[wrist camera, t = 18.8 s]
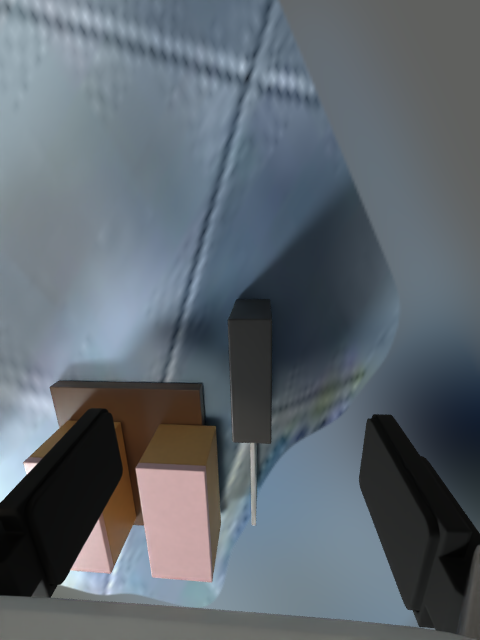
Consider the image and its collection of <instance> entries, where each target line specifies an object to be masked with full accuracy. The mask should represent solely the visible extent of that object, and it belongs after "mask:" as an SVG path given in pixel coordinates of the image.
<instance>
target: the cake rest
mask: <svg viewBox="0 0 480 640" xmlns="http://www.w3.org/2000/svg"><path fill="white" fill-rule="evenodd" d="M76 422H77V421H67V422H66V423H65V424H63V425H62V426H61V427H60V428H59V429H58V430H57V431H56V432H55V433H54V434H53V435H52V436H51V437H50V438H49V439H48V440H46V441H45V442H44V443H43V444H42V445H41V446H40V447H39V448H38V449H37V450H36V451H35V452H34V453H33V454H32V455H31V456H30V457H29V458H27V459H26V460H25V461H24V462H23V464H24V467H25V470H26V474H28V473H29V472H30V471H31V470H32V469H33V468H34V467H35V466H36V464H37V463H38V462H39V461H40V460H41V459H42V458H43V457H44V456H45V455H46V454H47V453H48V452H49V451H50V450H51V449H52V447H53V446H54V445H55V444H56V443H57V442H58V441H59V440H60V439H61V438H62V437H63V436H64V435H65V434H66V433H67V431H68V430H69V429H70V428H71V427H72V426H73V425H74V424H75V423H76ZM114 426H115V431H116V436H117V441H118V446H119V451H120V456H121V461H122V466H123V474H122V477H121V480H120V481H119V483H118V485H117V487H116V489H115V490H114V492H113V494H112V496H111V498H110V499H109V501H108V503H107V505H106V507H105V508H104V510H103V512H102V514H101V516H100V518H99V519H98V521H97V523H96V525H95V527H94V528H93V530H92V532H91V534H90V536H89V537H88V539H87V541H86V543H85V545H84V546H83V548H82V550H81V552H80V554H79V555H78V557H77V559H76V561H75V563H74V564H73V566H72V568H71V571H84V572H97V573H111V572H112V570H113V568H114V565H115V563H116V561H117V559H118V557H119V554H120V552H121V550H122V548H123V546H124V543H125V541H126V539H127V537H128V535H129V532H130V530H131V528H132V526H133V524H134V521H135V519H136V512H135V506H134V500H133V494H132V488H131V482H130V476H129V470H128V464H127V458H126V452H125V446H124V440H123V434H122V428H121V423H120V422H114Z"/></svg>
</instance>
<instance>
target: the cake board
mask: <svg viewBox="0 0 480 640" xmlns="http://www.w3.org/2000/svg"><path fill="white" fill-rule="evenodd" d="M50 391H51V395H52V399H53V403H54V407H55V411H56V416H57V420H58V424H59V428H60V427H61V426H62V425H63V424H65V423H66V422H67V421H78V420H79V419H80V418H81V417H82V416H83V414H84V413H85V412H86V411H87V410H88V409H91V408H102V409H107V410H108V412H109V413H111V414H112V416H113V421H114V422H120V423H121V428H122V434H123V440H124V446H125V452H126V458H127V464H128V470H129V476H130V482H131V488H132V494H133V500H134V506H135V512H136V519H135V521H134V524H133V525H144V520H143V514H142V507H141V501H140V494H139V488H138V481H137V475H136V466H137V465H138V463H139V461H140V459H141V458H142V456H143V454H144V452H145V450H146V449H147V447H148V445H149V443H150V441H151V439H152V438H153V436H154V434H155V432H156V430H157V429H158V427H159V425H160V424H173V425H201V426H205V416H204V401H203V387H202V384H189V383H136V382H84V381H57V382H56V383H55V384H53V385H52V386H50Z"/></svg>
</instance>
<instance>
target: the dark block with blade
mask: <svg viewBox="0 0 480 640" xmlns="http://www.w3.org/2000/svg"><path fill="white" fill-rule="evenodd" d="M228 340H229V366H230V391H231V417H232V441H233V442H238V443H250V458H251V513H252V525H256V501H257V443H266V444H270V443H271V407H272V314H271V303H270V299H237V300H236V302H235V304H234V307H233V309H232V311H231V314H230V316H229V318H228Z"/></svg>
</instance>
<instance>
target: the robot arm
mask: <svg viewBox="0 0 480 640" xmlns="http://www.w3.org/2000/svg"><path fill="white" fill-rule="evenodd" d="M122 474H123V466H122V461H121V456H120V451H119V446H118V441H117V436H116V431H115V426H114V421H113V416H112V414H111V413H109V412H108V410H107V409H102V408H91V409H88V410H87V411H86V412H85V413H84V414H83V416H82V417H81V418H80V419H79V420H78V421H77V422H76V423H75V424H74V425H73V426H72V427H71V428H70V429H69V430H68V431H67V433H66V434H65V435H64V436H63V437H62V438H61V439H60V440H59V441H58V442H57V443H56V444H55V445H54V446H53V447H52V449H51V450H50V451H49V452H48V453H47V454H46V455H45V456H44V457H43V458H42V459H41V460H40V461H39V462H38V463H37V464H36V466H35V467H34V468H33V469H32V470H31V471H30V472H29V473H28V474H27V475H26V476H25V477H24V478H23V479H22V480H21V482H20V483H19V484H18V485H17V486H16V487H15V488H14V489H13V490H12V491H11V492H10V493H9V494H8V495H7V496H6V497H5V499H4V500H3V501H2V502H1V503H0V640H480V533H479V532H478V531H477V529H476V528H475V526H474V525H473V524H472V522H471V521H470V519H469V518H468V516H467V515H466V514H465V512H464V511H463V509H462V508H461V507H460V505H459V504H458V502H457V501H456V499H455V498H454V497H453V495H452V494H451V493H450V491H449V490H448V488H447V487H446V485H445V484H444V482H443V481H442V480H441V478H440V477H439V475H438V474H437V473H436V471H435V470H434V468H433V467H432V466H431V464H430V463H429V462H428V461H427V459H426V458H424V457H422V456H420V455H419V454H418V452H417V451H416V449H415V448H414V446H413V445H412V443H411V442H410V440H409V439H408V438H407V436H406V435H405V433H404V432H403V430H402V429H401V427H400V426H399V424H398V423H397V422H396V420H395V419H394V418H393V416H392V415H379V414H378V415H376V414H374V415H373V416H372V419H368V420H367V423H366V431H365V438H364V445H363V453H362V460H361V467H360V475H359V483H360V488H361V491H362V494H363V496H364V499H365V501H366V504H367V507H368V509H369V512H370V515H371V517H372V520H373V523H374V525H375V528H376V531H377V533H378V536H379V539H380V541H381V544H382V546H383V549H384V552H385V554H386V557H387V560H388V563H389V565H390V568H391V570H392V573H393V576H394V578H395V581H396V584H397V586H398V589H399V592H400V594H401V597H402V600H403V602H404V604H405V606H406V608H407V609H408V610H413V612H414V615H415V617H416V620H417V622H418V625H419V627H428V628H435V629H436V630H430V629H424V628H417V627H410V626H400V625H390V624H381V623H371V622H361V621H351V620H340V619H327V618H315V617H303V616H291V615H278V614H267V613H255V612H242V611H229V610H215V609H203V608H189V607H176V606H162V605H149V604H135V603H121V602H106V601H91V600H77V599H63V598H51V596H52V594H53V592H54V590H55V589H56V587H57V585H60V584H62V583H63V581H64V580H65V579H66V577H67V575H68V574H69V572H70V570H71V568H72V566H73V564H74V563H75V561H76V559H77V557H78V555H79V554H80V552H81V550H82V548H83V546H84V545H85V543H86V541H87V539H88V537H89V536H90V534H91V532H92V530H93V528H94V527H95V525H96V523H97V521H98V519H99V518H100V516H101V514H102V512H103V510H104V508H105V507H106V505H107V503H108V501H109V499H110V498H111V496H112V494H113V492H114V490H115V489H116V487H117V485H118V483H119V481H120V480H121V477H122ZM31 596H32V597H31Z"/></svg>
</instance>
